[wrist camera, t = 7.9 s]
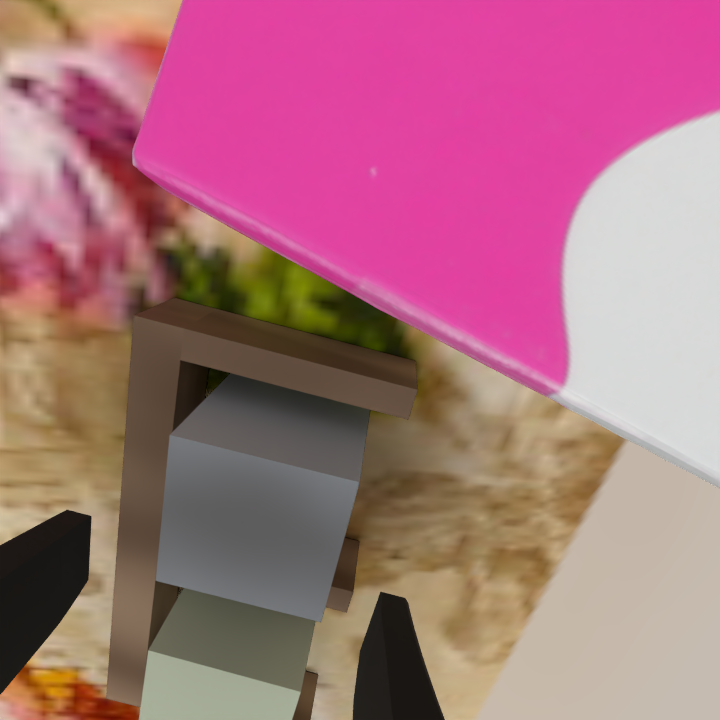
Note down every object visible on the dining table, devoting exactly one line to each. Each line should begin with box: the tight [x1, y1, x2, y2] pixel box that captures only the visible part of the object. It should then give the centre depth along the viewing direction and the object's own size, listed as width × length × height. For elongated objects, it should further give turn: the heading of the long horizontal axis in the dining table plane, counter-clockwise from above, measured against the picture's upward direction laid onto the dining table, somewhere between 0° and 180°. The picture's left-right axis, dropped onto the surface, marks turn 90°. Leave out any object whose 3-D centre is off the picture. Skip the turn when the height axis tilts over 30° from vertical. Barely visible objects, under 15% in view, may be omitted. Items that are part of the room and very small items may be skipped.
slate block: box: [156, 373, 370, 622], centre depth 15 cm, size 5×5×5 cm
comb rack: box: [106, 298, 418, 720], centre depth 17 cm, size 17×8×2 cm, turn 166°
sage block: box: [139, 588, 315, 720], centre depth 18 cm, size 5×5×5 cm
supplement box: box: [132, 0, 720, 488], centre depth 8 cm, size 6×6×12 cm
